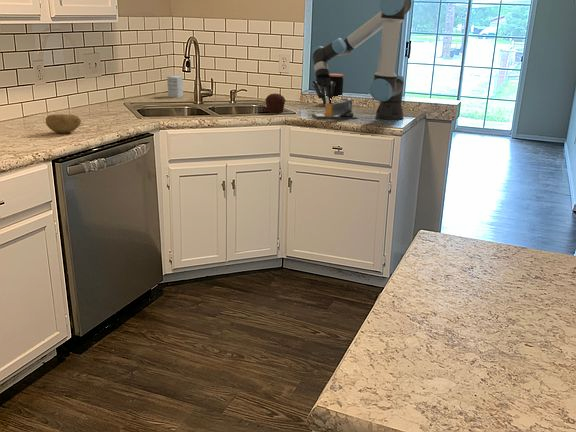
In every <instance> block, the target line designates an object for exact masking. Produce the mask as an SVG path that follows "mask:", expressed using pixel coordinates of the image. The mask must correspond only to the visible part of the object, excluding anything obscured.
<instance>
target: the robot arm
mask: <svg viewBox="0 0 576 432" xmlns="http://www.w3.org/2000/svg"><path fill="white" fill-rule="evenodd" d="M411 8H412V0H379V9H380V11H379V12H378V13H377V14H375V15H374V16H373V17H372V18H370V19H369V20H367V21H366V22H365V23H364V24H362V25H361V26H360V27H358V28H357V29H356V30H355V31H353V32H351V34H349V35H348V36H347V37H346V38H344V39H342V38H341V37H339V38H336V39H334V40H333V41H331V42H330V43H328V44H327V45H325V46H322V45H318V46H315V47H314V48H313V49H312V50H311V53H312V55H311V57H312V58H311V59H312V62H313V68H314V75H315V80H313V81H312V83H311V85H312V86H313V88H314V91H315V93H316V95H317V98H318V99H321V100H322V103H323V105H325V108H326V104H327V103H329V104H330V103H331V100H330V98H331V99H332V97H333V93H334V86H335V84H336V82H335V81H334V82H332V81H331V79H330V74H331V73H330V70H329V64H328V63H329V62H330V61H331V60H332V59H333V58H336V57H339V56H349V55H351V54H352V53H353V51H354V50H355V49H357V47H359V46H361V44H363V43H364V42H366V41H368V40H369V39H370V38H371V37H373V36H374V35H375V34H376V33H378V32H380V31H381V30H382V32H381V33H382V34H381V38H380V39H381V41H380V46H379V47H380V48H379V49H380V50H379V57H378V65H377V71H376V72H374V74H373V81H372V82H371V83H370V85H369V94H370V95H371V97H372V98H373V100H375V101H377V102H379V104H378V107H377V110H376V112H375V118H378V119H383V120H390V121H391V120H395V121H397V119H399V120H403V119H404V117H405V116H404V114H405V113H404V109H403V105H402V104H403V101H402V100H403V92H404V84H405V78H404V76H403V75H399V74H396V72H395V70H396V62H397V61H396V60H397V55H398V47H399V39H400V31H401V23H403V22H404V21H405V17H406V16H405V15H407V13H408V12H409V11H411ZM330 83H331V86H332V87H331V93H330V92H329V84H330ZM325 94H326V96H327V97H325Z"/></svg>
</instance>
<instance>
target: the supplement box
mask: <svg viewBox="0 0 576 432" xmlns="http://www.w3.org/2000/svg"><path fill="white" fill-rule="evenodd" d="M166 81H167V82H166V83H167V88H166V89H167V97H168V98H175V97H176V99H178V98H182V97H184V85H183V84H184V83H183V76H181V75H179V76H178V75H171V76H167V77H166Z"/></svg>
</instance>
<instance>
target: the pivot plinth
mask: <svg viewBox="0 0 576 432" xmlns="http://www.w3.org/2000/svg"><path fill="white" fill-rule="evenodd" d="M338 116H340V118H341V119H340V120H353V119H354V120H358V117H357V116H355V115H354V112H351V113H344V114H340V115H338Z"/></svg>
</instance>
